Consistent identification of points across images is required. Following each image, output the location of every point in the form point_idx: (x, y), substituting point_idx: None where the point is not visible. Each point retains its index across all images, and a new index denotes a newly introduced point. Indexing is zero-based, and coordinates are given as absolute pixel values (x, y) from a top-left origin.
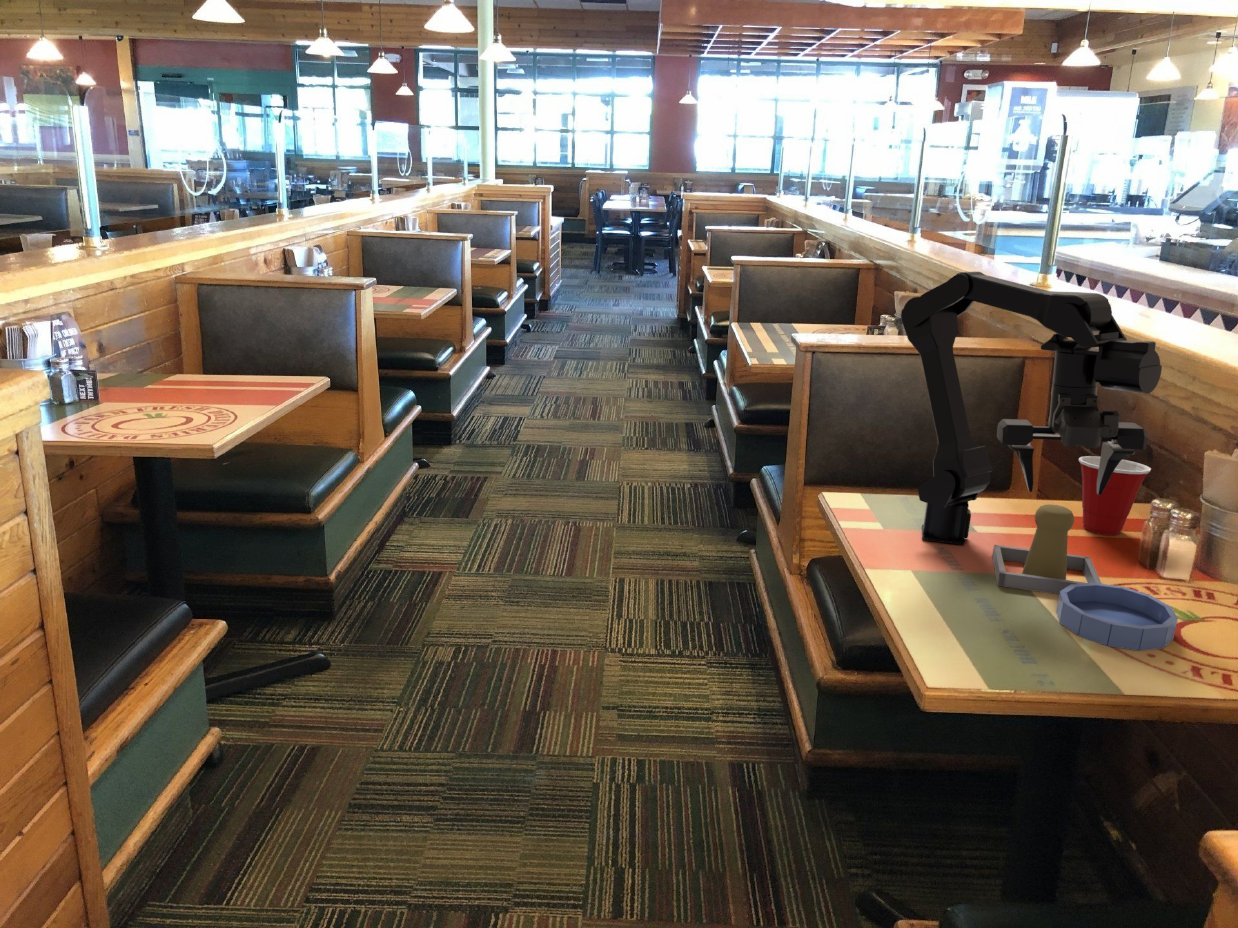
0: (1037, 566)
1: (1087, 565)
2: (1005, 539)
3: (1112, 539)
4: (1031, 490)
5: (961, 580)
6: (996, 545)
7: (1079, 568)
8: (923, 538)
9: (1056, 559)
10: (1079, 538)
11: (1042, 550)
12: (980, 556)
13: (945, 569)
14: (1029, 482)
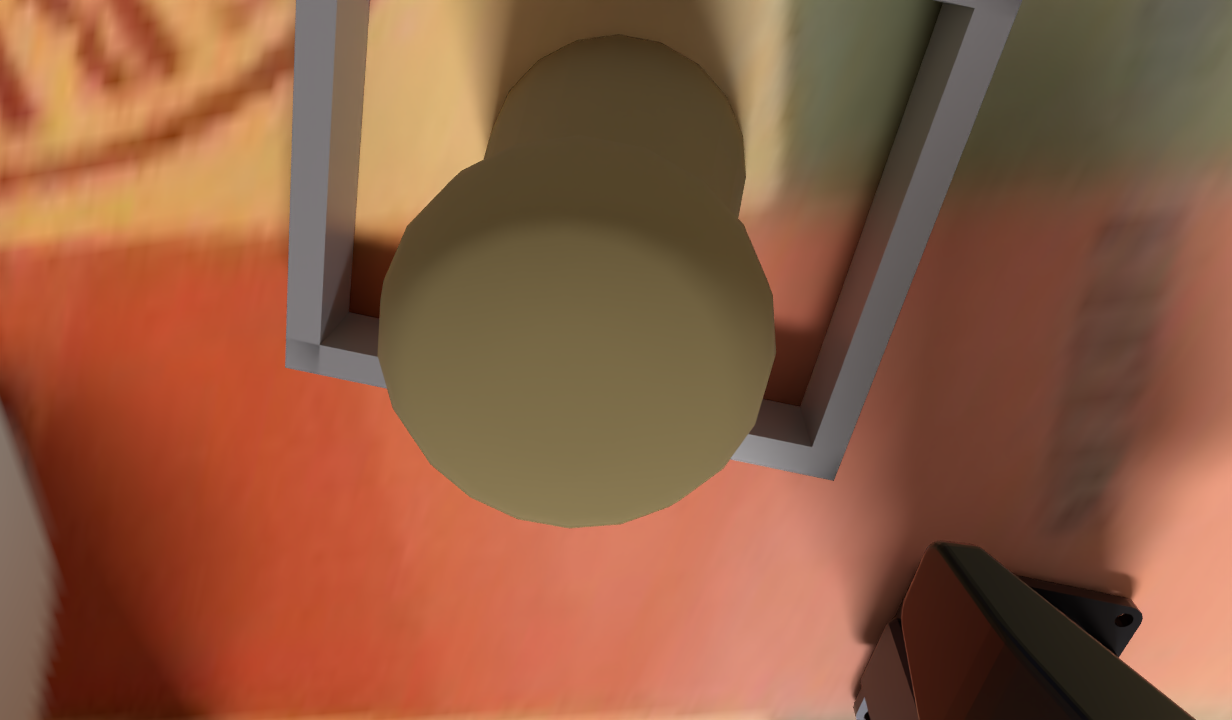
0: (705, 107)
1: (327, 239)
2: (651, 654)
3: (120, 700)
4: (957, 547)
5: (1218, 30)
6: (825, 467)
7: (363, 320)
8: (1136, 606)
9: (583, 88)
10: (274, 697)
11: (691, 135)
12: (889, 433)
13: (1227, 209)
14: (1076, 643)
